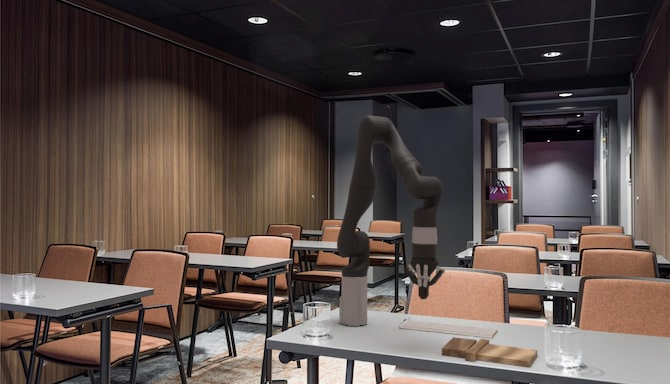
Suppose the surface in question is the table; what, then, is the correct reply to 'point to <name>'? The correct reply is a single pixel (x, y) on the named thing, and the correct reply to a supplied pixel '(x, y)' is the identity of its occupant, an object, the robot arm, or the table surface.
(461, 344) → the plank
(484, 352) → the floor edge
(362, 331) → the table surface
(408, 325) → the baseboard molding
